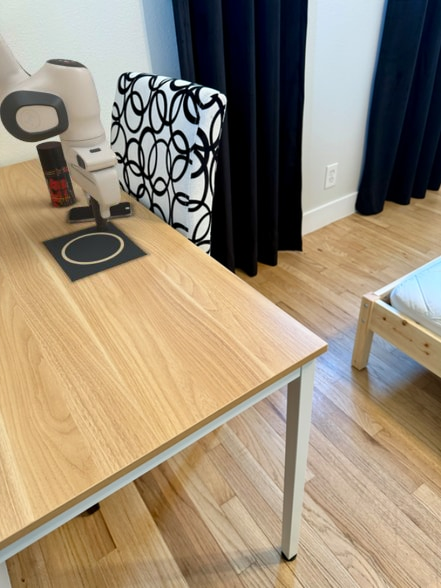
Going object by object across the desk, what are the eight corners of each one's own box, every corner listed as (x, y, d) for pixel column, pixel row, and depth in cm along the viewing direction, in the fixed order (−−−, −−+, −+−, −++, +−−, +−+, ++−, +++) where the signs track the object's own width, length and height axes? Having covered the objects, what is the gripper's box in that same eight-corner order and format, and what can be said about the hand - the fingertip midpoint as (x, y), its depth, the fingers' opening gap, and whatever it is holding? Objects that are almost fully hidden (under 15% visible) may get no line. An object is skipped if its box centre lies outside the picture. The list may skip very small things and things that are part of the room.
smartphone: (131, 214, 103) (67, 221, 101) (132, 217, 104) (68, 224, 101) (130, 201, 109) (70, 207, 107) (131, 203, 110) (70, 210, 107)
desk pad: (72, 282, 82) (72, 280, 82) (42, 243, 95) (42, 241, 94) (147, 255, 89) (147, 253, 89) (110, 222, 102) (109, 220, 102)
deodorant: (47, 204, 111) (30, 146, 102) (66, 196, 115) (51, 139, 106) (62, 210, 108) (46, 150, 99) (81, 201, 112) (67, 143, 103)
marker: (100, 233, 97) (87, 178, 89) (95, 229, 99) (82, 174, 91) (111, 229, 98) (99, 175, 90) (106, 225, 100) (94, 171, 92)
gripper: (53, 139, 93) (69, 199, 101) (89, 166, 79) (103, 232, 88) (81, 134, 96) (94, 192, 104) (120, 158, 82) (131, 223, 90)
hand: (99, 211), depth 96 cm, fingers open, 6 cm apart
